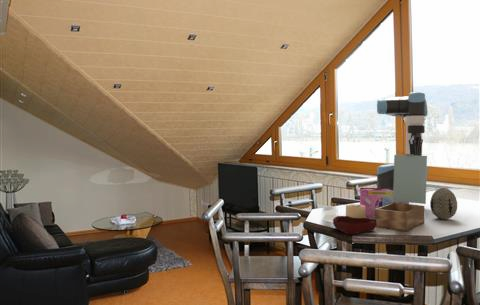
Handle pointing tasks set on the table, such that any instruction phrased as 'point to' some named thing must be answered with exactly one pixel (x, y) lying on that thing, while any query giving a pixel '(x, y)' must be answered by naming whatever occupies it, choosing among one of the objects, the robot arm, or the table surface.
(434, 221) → the table surface
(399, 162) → the lid
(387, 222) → the chest
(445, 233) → the table surface
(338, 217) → the dark red bean shape
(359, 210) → the beige rounded cone
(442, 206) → the decorative egg
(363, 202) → the gum box
